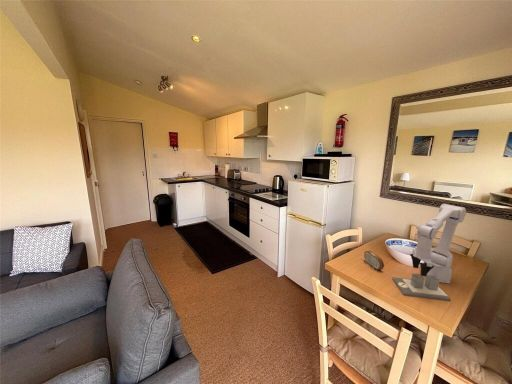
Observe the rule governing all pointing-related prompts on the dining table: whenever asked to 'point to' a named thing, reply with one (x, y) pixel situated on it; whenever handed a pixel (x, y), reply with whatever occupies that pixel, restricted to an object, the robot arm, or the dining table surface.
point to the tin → (374, 260)
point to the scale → (419, 290)
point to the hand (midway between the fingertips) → (419, 271)
